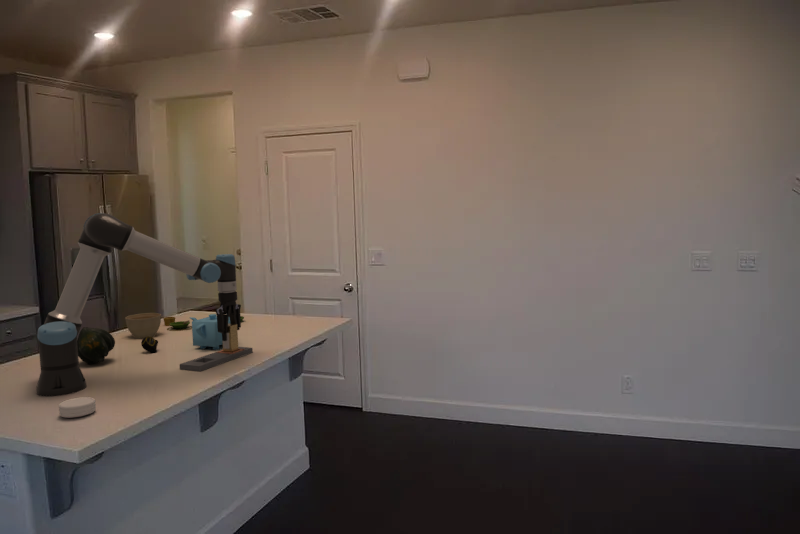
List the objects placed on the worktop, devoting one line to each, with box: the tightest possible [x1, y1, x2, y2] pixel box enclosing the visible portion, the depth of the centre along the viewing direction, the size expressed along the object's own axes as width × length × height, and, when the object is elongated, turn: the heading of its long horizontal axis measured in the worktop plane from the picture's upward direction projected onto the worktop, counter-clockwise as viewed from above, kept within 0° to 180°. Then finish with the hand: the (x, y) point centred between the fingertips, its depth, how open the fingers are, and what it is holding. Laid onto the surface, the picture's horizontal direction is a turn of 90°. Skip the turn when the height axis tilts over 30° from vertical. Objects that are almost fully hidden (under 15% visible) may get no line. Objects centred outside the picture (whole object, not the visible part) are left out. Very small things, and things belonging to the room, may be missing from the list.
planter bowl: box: [124, 312, 162, 340], centre depth 296 cm, size 16×16×11 cm
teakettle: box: [189, 313, 231, 351], centre depth 272 cm, size 19×19×15 cm
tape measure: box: [140, 336, 159, 354], centre depth 264 cm, size 7×7×4 cm
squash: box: [77, 326, 116, 365], centre depth 246 cm, size 14×15×15 cm
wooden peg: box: [222, 324, 239, 353], centre depth 253 cm, size 4×4×12 cm
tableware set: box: [162, 315, 245, 332], centre depth 322 cm, size 41×28×6 cm
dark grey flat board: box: [179, 346, 254, 372], centre depth 246 cm, size 32×10×2 cm, turn 156°
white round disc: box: [58, 396, 97, 419], centre depth 185 cm, size 10×10×4 cm
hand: (230, 346), depth 253 cm, fingers closed on wooden peg, 4 cm apart
